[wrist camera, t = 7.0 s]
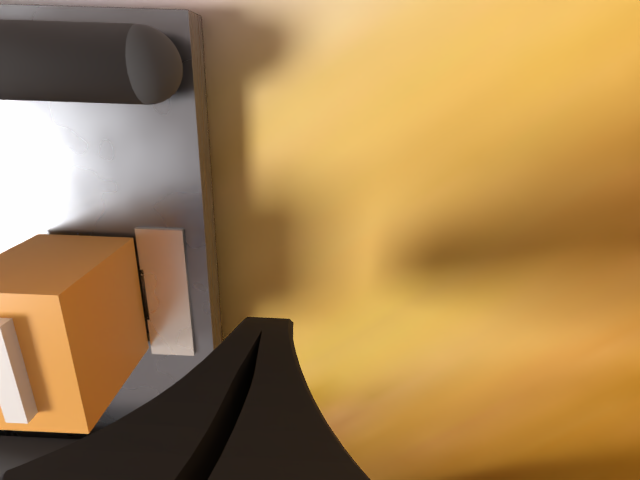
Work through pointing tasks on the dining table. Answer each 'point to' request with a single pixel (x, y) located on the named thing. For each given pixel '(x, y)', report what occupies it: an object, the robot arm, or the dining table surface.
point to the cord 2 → (87, 62)
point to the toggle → (67, 330)
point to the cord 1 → (26, 449)
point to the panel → (125, 196)
